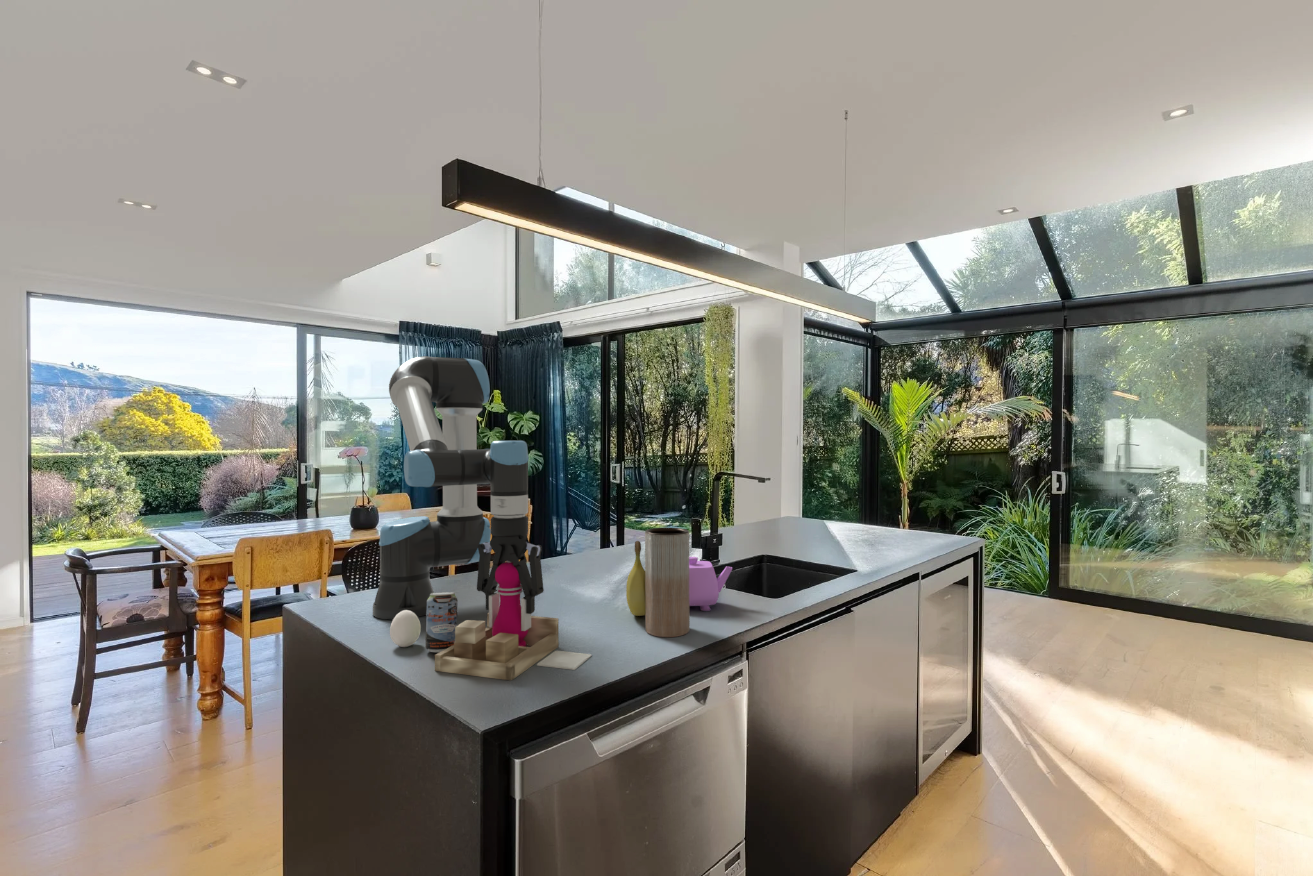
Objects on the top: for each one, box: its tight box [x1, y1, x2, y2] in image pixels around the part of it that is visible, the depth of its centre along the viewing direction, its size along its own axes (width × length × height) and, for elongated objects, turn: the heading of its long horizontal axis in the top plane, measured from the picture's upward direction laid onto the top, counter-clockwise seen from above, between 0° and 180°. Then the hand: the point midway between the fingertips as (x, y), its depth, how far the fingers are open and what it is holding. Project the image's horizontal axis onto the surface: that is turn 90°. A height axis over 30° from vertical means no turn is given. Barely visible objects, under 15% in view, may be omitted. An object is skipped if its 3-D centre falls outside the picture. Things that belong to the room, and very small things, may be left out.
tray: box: [434, 612, 560, 681], centre depth 126 cm, size 16×19×6 cm
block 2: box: [454, 636, 487, 661], centre depth 123 cm, size 4×5×5 cm
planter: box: [644, 527, 691, 638], centre depth 143 cm, size 10×10×23 cm
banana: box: [625, 540, 645, 617], centre depth 156 cm, size 23×6×20 cm, turn 178°
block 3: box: [486, 633, 518, 663], centre depth 121 cm, size 4×5×6 cm
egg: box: [389, 610, 422, 648], centre depth 134 cm, size 6×6×8 cm
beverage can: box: [424, 591, 459, 653], centre depth 131 cm, size 6×7×12 cm
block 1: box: [455, 619, 486, 644], centre depth 123 cm, size 4×5×3 cm
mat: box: [536, 649, 592, 671], centre depth 125 cm, size 8×8×1 cm
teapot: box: [689, 556, 733, 612], centre depth 164 cm, size 20×12×13 cm, turn 90°
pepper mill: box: [492, 561, 528, 647], centre depth 130 cm, size 7×7×20 cm
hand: (510, 627), depth 130 cm, fingers closed on pepper mill, 7 cm apart
